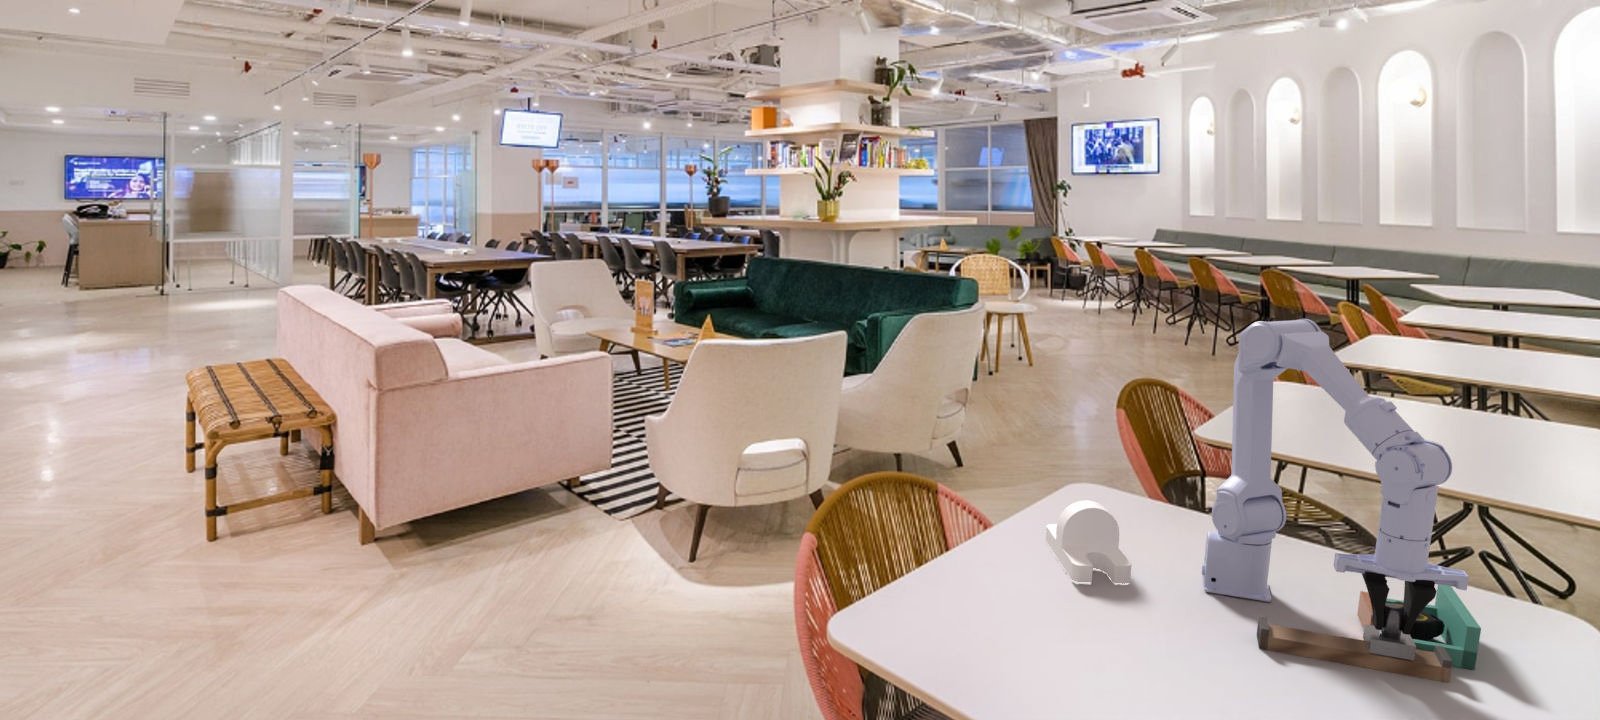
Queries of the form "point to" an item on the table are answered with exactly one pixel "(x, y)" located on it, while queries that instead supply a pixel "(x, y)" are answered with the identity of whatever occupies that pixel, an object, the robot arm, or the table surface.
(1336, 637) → the rail
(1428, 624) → the tape measure
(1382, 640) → the rod slider
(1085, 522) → the white slotted holder
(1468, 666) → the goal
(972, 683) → the table surface
